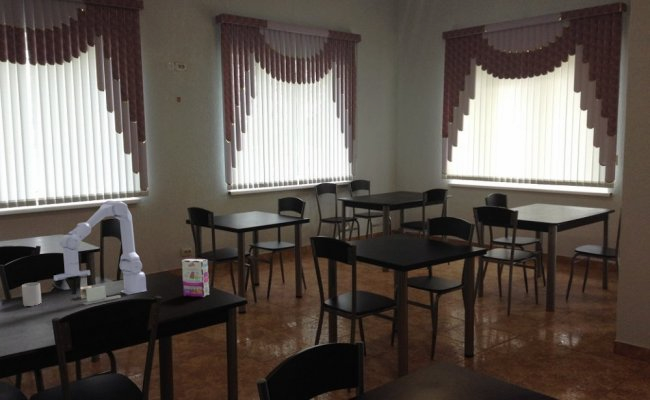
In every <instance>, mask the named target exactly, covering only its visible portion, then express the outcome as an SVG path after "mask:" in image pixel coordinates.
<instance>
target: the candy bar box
mask: <svg viewBox="0 0 650 400" xmlns="http://www.w3.org/2000/svg"><path fill="white" fill-rule="evenodd" d="M181 272H182V273H181V274H182V291H183V297H198V298H205V297H208V296H209V295H210V282H209V281H210V279H209V262H208V259H207V258H206V259H204V258H185V259H182V260H181Z"/></svg>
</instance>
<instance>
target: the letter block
mask: <svg viewBox="0 0 650 400" xmlns="http://www.w3.org/2000/svg"><path fill="white" fill-rule="evenodd" d="M89 288H92V285H86V286H80V298H81V300H83V299H87V298H86V289H89Z"/></svg>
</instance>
